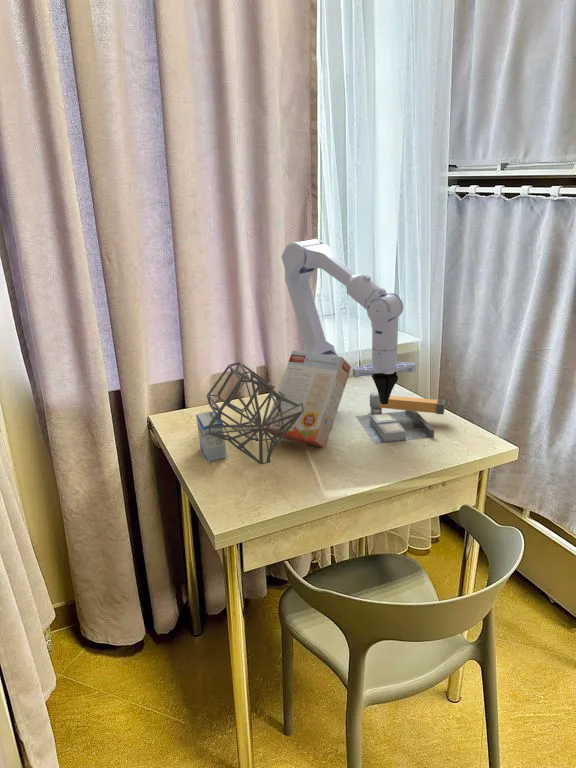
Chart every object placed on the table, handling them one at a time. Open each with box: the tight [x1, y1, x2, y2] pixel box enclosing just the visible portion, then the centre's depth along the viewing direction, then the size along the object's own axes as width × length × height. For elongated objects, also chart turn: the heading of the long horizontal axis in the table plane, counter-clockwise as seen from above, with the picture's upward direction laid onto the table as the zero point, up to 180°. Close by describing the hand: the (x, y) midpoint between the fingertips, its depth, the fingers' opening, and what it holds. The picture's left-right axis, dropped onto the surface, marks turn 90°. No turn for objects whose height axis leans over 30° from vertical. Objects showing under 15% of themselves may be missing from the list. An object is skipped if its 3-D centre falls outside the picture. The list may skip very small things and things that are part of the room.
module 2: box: [378, 423, 406, 442], centre depth 126 cm, size 5×5×2 cm
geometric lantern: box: [206, 361, 304, 465], centre depth 124 cm, size 16×16×35 cm
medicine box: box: [195, 410, 227, 463], centre depth 123 cm, size 8×4×9 cm, turn 21°
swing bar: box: [369, 391, 446, 415], centre depth 134 cm, size 18×3×3 cm, turn 69°
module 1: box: [370, 412, 397, 431], centre depth 132 cm, size 5×5×2 cm
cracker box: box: [265, 350, 352, 449], centre depth 128 cm, size 14×6×21 cm
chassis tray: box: [355, 407, 435, 445], centre depth 132 cm, size 14×17×4 cm
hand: (383, 402), depth 130 cm, fingers closed
